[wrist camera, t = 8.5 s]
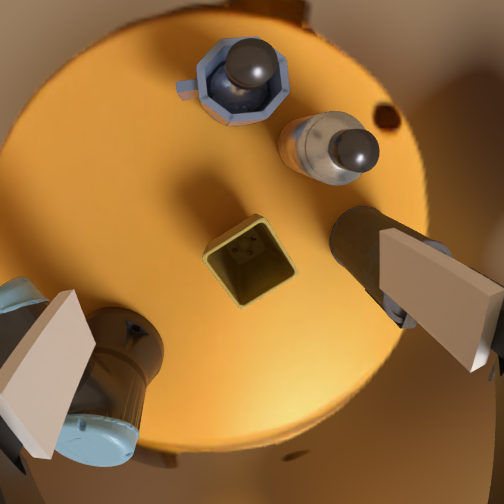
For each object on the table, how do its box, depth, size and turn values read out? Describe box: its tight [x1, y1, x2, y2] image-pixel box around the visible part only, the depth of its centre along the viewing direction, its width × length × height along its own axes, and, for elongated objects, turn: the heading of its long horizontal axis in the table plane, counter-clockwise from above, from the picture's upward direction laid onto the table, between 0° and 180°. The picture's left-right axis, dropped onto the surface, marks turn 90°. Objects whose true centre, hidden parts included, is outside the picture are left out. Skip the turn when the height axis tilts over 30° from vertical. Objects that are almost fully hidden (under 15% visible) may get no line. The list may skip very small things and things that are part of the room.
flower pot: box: [202, 214, 299, 309], centre depth 42 cm, size 9×9×9 cm
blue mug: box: [176, 37, 290, 126], centre depth 34 cm, size 11×9×12 cm
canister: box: [330, 206, 453, 328], centre depth 39 cm, size 11×10×20 cm
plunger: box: [210, 38, 278, 114], centre depth 28 cm, size 7×7×14 cm
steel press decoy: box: [278, 111, 379, 186], centre depth 35 cm, size 10×8×18 cm
